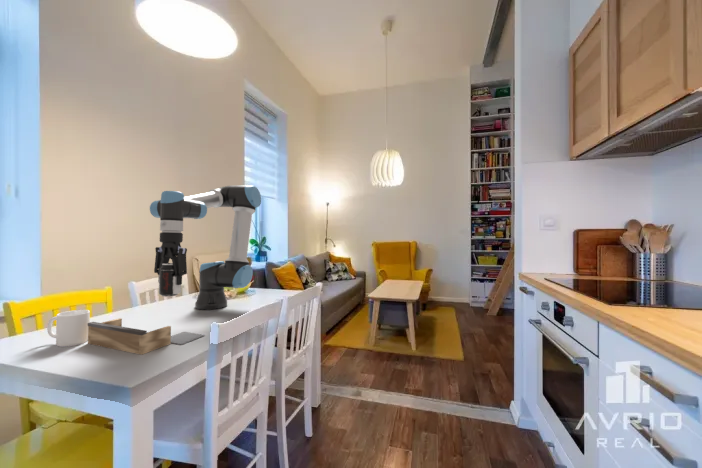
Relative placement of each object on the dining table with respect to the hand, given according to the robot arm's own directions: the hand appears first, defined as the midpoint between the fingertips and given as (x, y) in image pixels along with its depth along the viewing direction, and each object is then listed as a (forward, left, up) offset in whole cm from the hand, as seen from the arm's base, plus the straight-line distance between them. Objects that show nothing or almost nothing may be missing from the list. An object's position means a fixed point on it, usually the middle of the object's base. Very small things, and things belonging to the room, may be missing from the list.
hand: (169, 292), depth 113 cm
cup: (+20, -22, -16) cm, 34 cm away
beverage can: (0, 0, -1) cm, 1 cm away
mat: (+2, +10, -15) cm, 18 cm away
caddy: (+13, -2, -15) cm, 20 cm away
